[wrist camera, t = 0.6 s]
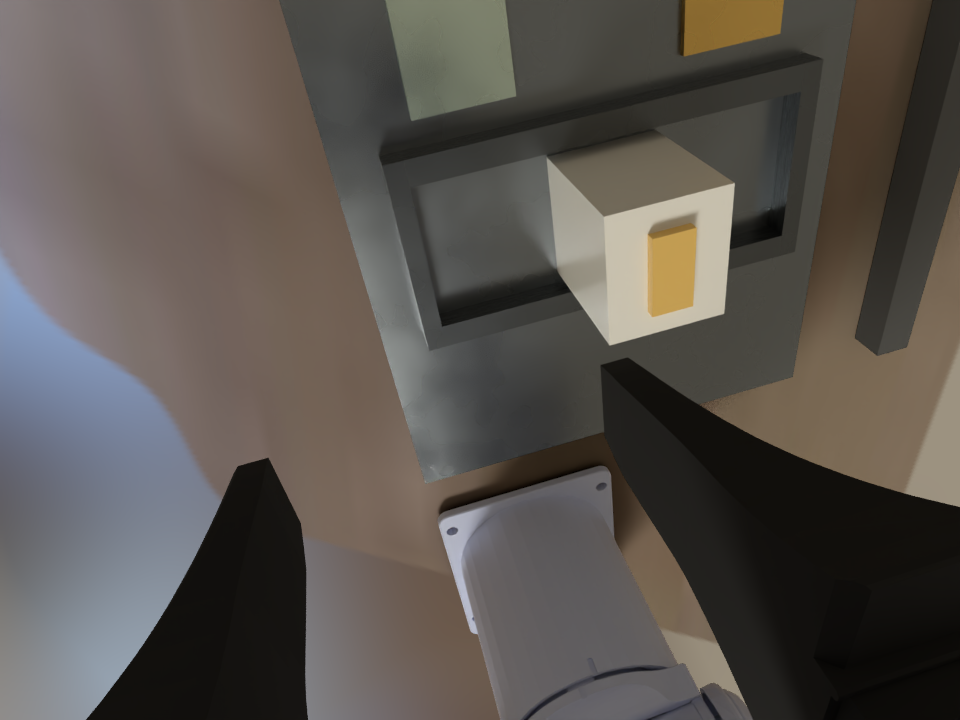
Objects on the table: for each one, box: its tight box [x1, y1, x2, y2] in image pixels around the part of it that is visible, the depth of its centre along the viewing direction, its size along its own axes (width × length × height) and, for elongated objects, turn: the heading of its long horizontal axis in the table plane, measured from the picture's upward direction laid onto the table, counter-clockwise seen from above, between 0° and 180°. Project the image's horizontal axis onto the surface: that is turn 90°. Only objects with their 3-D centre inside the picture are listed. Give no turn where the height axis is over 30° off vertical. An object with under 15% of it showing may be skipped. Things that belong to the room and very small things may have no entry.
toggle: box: [547, 130, 735, 345], centre depth 20 cm, size 4×4×5 cm
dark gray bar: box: [855, 0, 960, 356], centre depth 24 cm, size 16×1×1 cm, turn 9°
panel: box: [279, 0, 856, 484], centre depth 22 cm, size 20×16×2 cm
